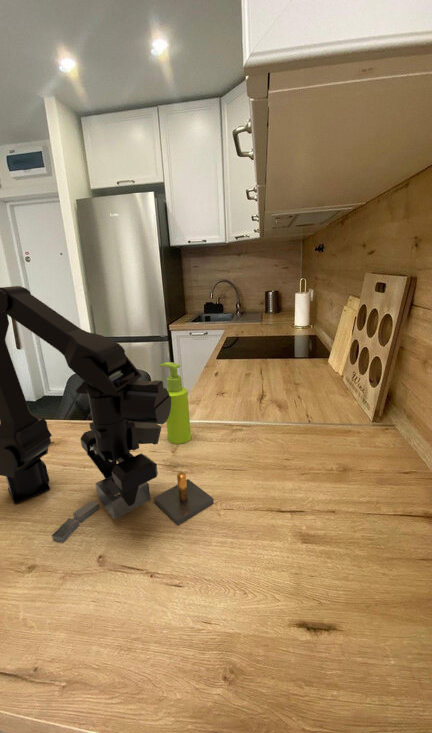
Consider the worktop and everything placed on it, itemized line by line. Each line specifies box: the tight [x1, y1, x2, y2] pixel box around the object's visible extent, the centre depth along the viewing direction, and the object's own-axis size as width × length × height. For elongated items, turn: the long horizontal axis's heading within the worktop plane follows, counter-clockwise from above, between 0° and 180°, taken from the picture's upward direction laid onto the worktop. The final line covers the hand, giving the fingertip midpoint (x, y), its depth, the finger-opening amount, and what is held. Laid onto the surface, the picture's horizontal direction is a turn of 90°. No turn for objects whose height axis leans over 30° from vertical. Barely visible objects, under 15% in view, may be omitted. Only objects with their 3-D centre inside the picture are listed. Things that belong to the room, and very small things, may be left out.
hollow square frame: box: [95, 476, 152, 520], centre depth 60 cm, size 7×7×4 cm
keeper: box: [153, 471, 215, 526], centre depth 61 cm, size 8×8×6 cm
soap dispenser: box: [159, 361, 192, 445], centre depth 82 cm, size 6×7×20 cm
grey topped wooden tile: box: [72, 499, 100, 523], centre depth 60 cm, size 4×2×1 cm, turn 148°
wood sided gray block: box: [51, 517, 80, 544], centre depth 56 cm, size 4×2×1 cm, turn 162°
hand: (122, 494), depth 60 cm, fingers closed on hollow square frame, 7 cm apart
